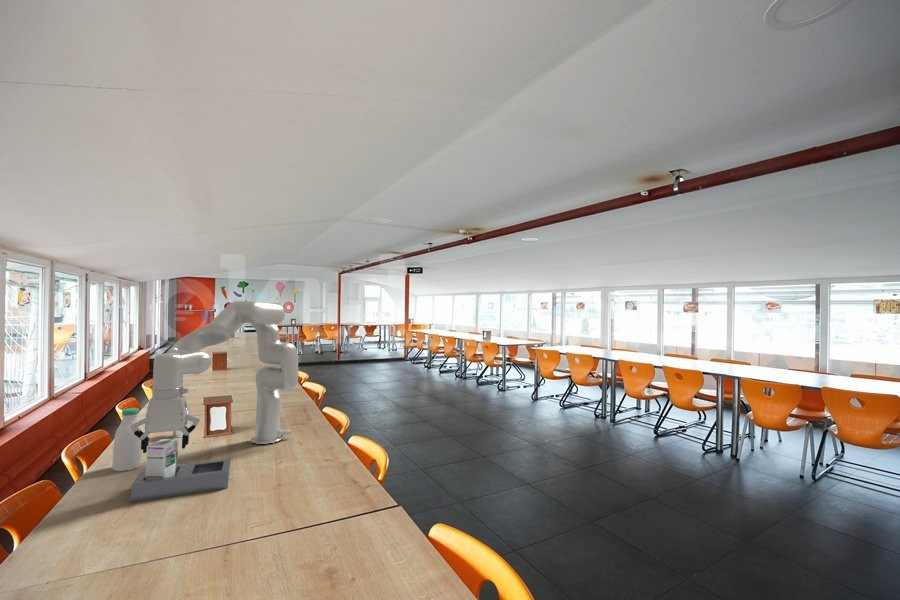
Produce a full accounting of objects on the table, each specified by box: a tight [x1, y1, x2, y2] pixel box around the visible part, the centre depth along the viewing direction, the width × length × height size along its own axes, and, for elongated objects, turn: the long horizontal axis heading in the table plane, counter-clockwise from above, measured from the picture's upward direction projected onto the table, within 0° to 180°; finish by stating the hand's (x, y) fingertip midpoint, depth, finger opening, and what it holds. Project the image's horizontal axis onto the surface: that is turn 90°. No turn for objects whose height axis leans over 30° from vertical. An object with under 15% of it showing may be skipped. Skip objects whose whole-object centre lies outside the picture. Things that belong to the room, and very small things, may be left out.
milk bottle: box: [111, 407, 144, 472], centre depth 132 cm, size 8×8×20 cm
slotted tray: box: [130, 458, 232, 504], centre depth 119 cm, size 24×12×5 cm, turn 117°
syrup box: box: [145, 438, 179, 480], centre depth 117 cm, size 6×6×14 cm
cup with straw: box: [171, 388, 196, 439], centre depth 166 cm, size 8×9×20 cm
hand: (165, 449), depth 118 cm, fingers open, 9 cm apart
